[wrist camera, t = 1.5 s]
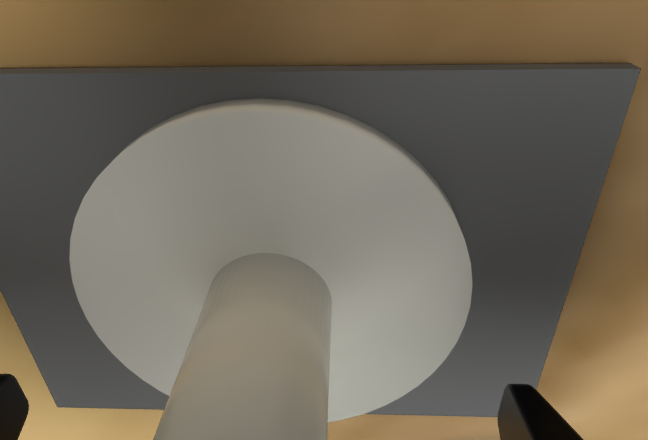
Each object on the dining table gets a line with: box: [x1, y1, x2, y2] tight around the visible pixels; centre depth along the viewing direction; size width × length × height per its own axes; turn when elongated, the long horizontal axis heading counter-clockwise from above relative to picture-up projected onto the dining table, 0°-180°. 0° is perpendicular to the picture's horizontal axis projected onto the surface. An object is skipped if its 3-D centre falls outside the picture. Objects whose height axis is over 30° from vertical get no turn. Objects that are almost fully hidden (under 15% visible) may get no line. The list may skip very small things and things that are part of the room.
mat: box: [0, 63, 641, 417], centre depth 12 cm, size 14×10×1 cm
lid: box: [69, 98, 472, 440], centre depth 9 cm, size 9×9×5 cm
